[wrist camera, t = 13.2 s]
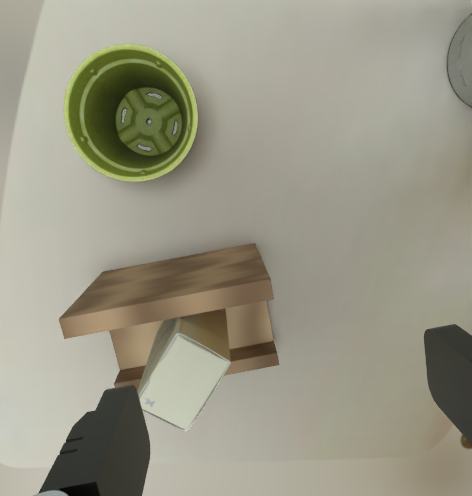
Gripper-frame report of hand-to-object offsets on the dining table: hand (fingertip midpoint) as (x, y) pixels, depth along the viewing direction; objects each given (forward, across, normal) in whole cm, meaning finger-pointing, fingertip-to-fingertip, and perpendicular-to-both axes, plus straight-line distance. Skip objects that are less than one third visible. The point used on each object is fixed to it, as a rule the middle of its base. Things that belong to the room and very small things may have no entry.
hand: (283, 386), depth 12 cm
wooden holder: (+30, +6, +8) cm, 32 cm away
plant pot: (+30, +6, -10) cm, 32 cm away
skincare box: (+28, +6, +8) cm, 30 cm away
